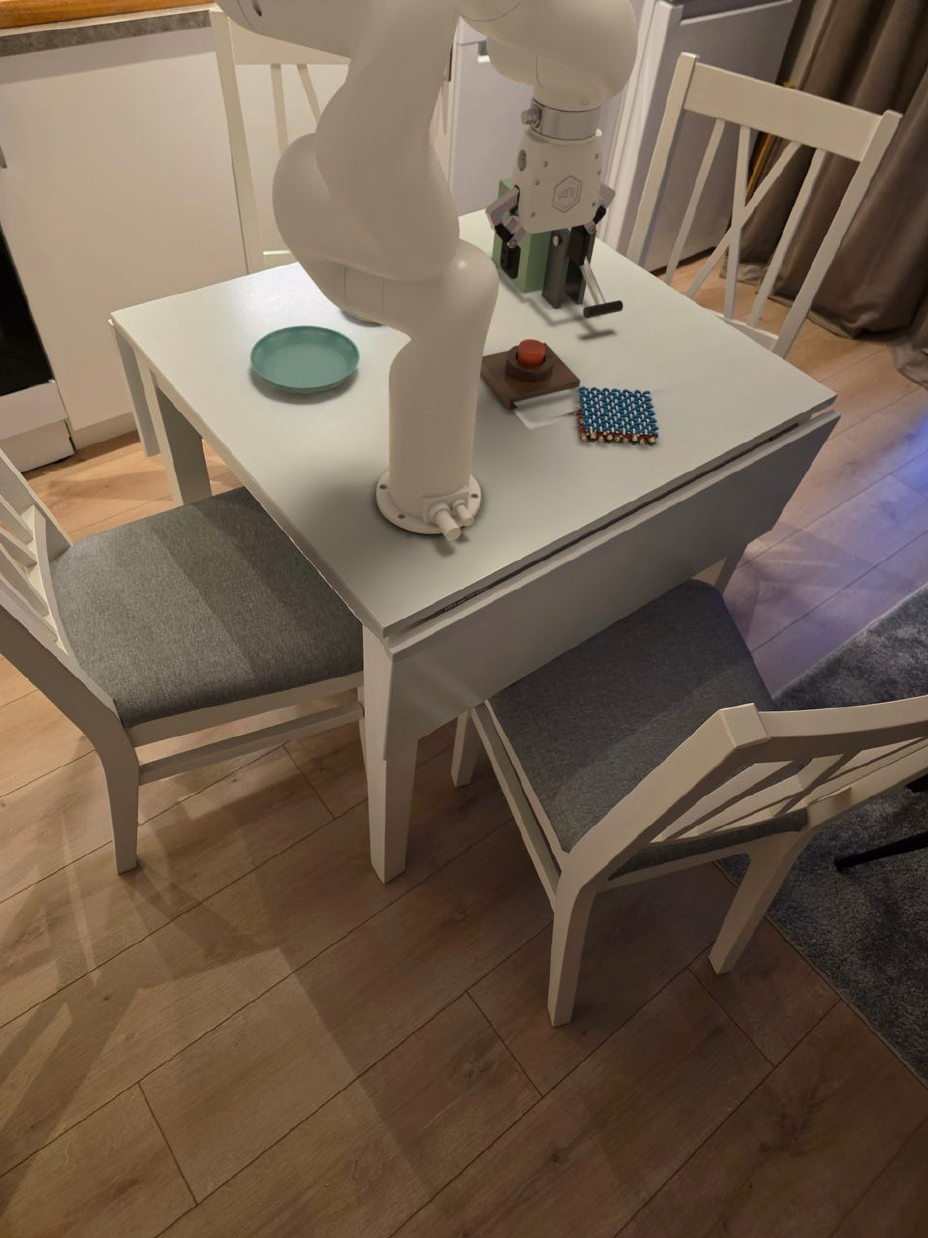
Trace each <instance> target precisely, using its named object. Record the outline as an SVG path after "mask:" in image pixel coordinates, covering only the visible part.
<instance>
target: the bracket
mask: <svg viewBox="0 0 928 1238" xmlns="http://www.w3.org/2000/svg"><path fill="white" fill-rule="evenodd" d="M597 231H598V229H596V230H595V232H594V233H592V234H590V239H589V244H588V249H587V253H586V257H587V260H588V262H589V264H590V265H591V263H592V258H593V254H594V253H593V252H594V248H595V241H596V237H597ZM570 233H571V231H569V230H568V229H567V228H564V229H559V230H553V231H551V237H550V244H549V250H548V257H547V264H546V270H545V277H544V283H543V290H541V297H543V298H544V299H545V301H547V302H548V304H549V305H551V307H552V308H553V309H555V310H559V309H561V308H562V303H563V297H564V293H565V294H566V295H567V296H568V297H569V298H570V299H571V300H572V301H573V303H575V304H576V305H577V306H578V305H583V304H584V298H585V293H586V289H587V283H586V281H585V278H584V276H583V274H582V271H581V269H580V267H579V265H577V264H576V263H575V262H574V261H573V260H572V259H571V258H570V257H568V255H567V251H568V245H569V239H570Z"/></svg>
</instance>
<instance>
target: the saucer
mask: <svg viewBox="0 0 928 1238" xmlns="http://www.w3.org/2000/svg"><path fill="white" fill-rule="evenodd" d="M360 357H361V356H360V351H359V347H358V346H357V345H356V343H355V342H354V341H353V340H352V339H351V338H350V337H349V336H347V335H345V334H344V333H341V332H340V331H337V330H335V329H331V328H328V327H323V326H318V325H317V326H316V325H293V326H287V327H283V328H280V329H276V330H273V331H270V332H269V333H267V334H265V335H264V336H262V337H261V338H260V339H259V340H258V341H256V342H255V344H254V345H253V347H252V348H251V351H250V355H249V359H250V364H251V367H252V368H253V370H254V371H255V373H257V374H258V375H259V377H261V378H262V379H263V380H264V381H266V382H267V383H268V384H270V385H272V386H274V387H275V388H277V389H280V390H282V391H284V392H287V393H292V394H298V395H312V394H313V395H314V394H320V393H324V392H327V391H329V390H331V389H334V388H335V387H338V386H339V385H340V384H342V383H343V382H344V381H346V380H348V378H349V377H350V376H351V375H352V374H353V373H354V371H355V370H356V369H357V367H358V365H359V362H360Z"/></svg>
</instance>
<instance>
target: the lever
mask: <svg viewBox="0 0 928 1238" xmlns="http://www.w3.org/2000/svg"><path fill="white" fill-rule="evenodd" d="M567 229H568V230H569V231H571V227H570V228H567ZM579 267H580V269H581V271H582V274H583V276H584V278H585V281H586V283H587V284H586V286H587V288H588V290H589V292H590V295H591V298H592V299H593V302H594V305H588V306H585V307H583V309H582V314H583V317H584V318H585V319H591V318H596V317H601V316H605V315H610V314H615V313H618V312H619V313H620V312H622V311H623V309H624V304H623V301H622V300H620V299H619V300H614V301H608V302H606V300H605V297H604V295H603V292H602V291H601V288H600V286H599V283H598V280H597V279H596V276H595V274H594V271H593V269H592V267H591V263H590V264H589V262H588V260H587V257H585V262H584V265H582V266H579Z"/></svg>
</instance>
